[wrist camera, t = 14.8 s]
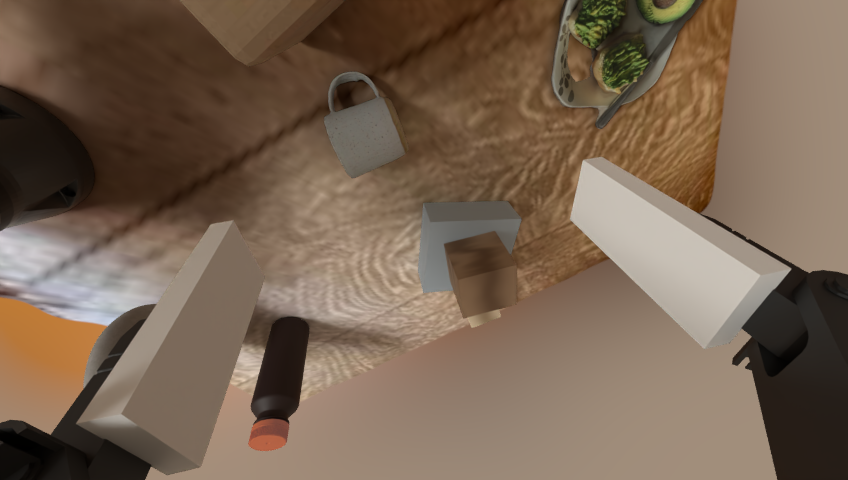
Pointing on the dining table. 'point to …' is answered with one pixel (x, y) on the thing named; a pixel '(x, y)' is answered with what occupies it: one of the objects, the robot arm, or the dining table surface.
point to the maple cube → (483, 318)
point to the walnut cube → (481, 274)
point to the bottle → (279, 383)
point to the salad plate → (616, 49)
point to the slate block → (459, 234)
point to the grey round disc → (113, 338)
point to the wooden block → (260, 24)
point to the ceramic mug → (364, 130)
